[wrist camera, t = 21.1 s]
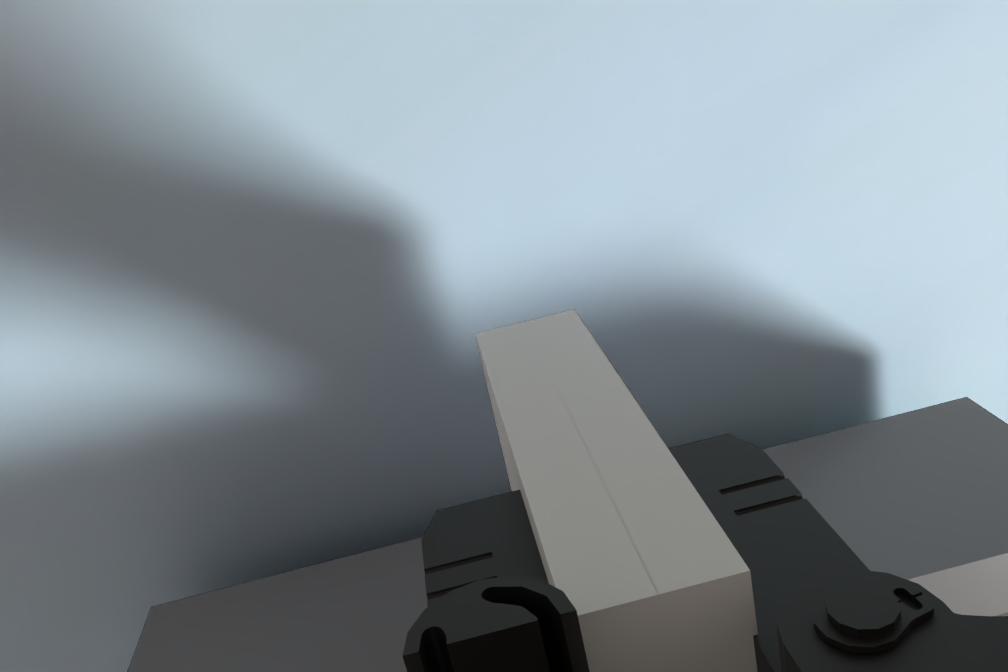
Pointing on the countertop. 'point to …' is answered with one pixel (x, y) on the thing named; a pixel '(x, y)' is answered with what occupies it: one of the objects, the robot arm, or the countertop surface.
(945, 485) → the tray
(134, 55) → the countertop surface
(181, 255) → the countertop surface
